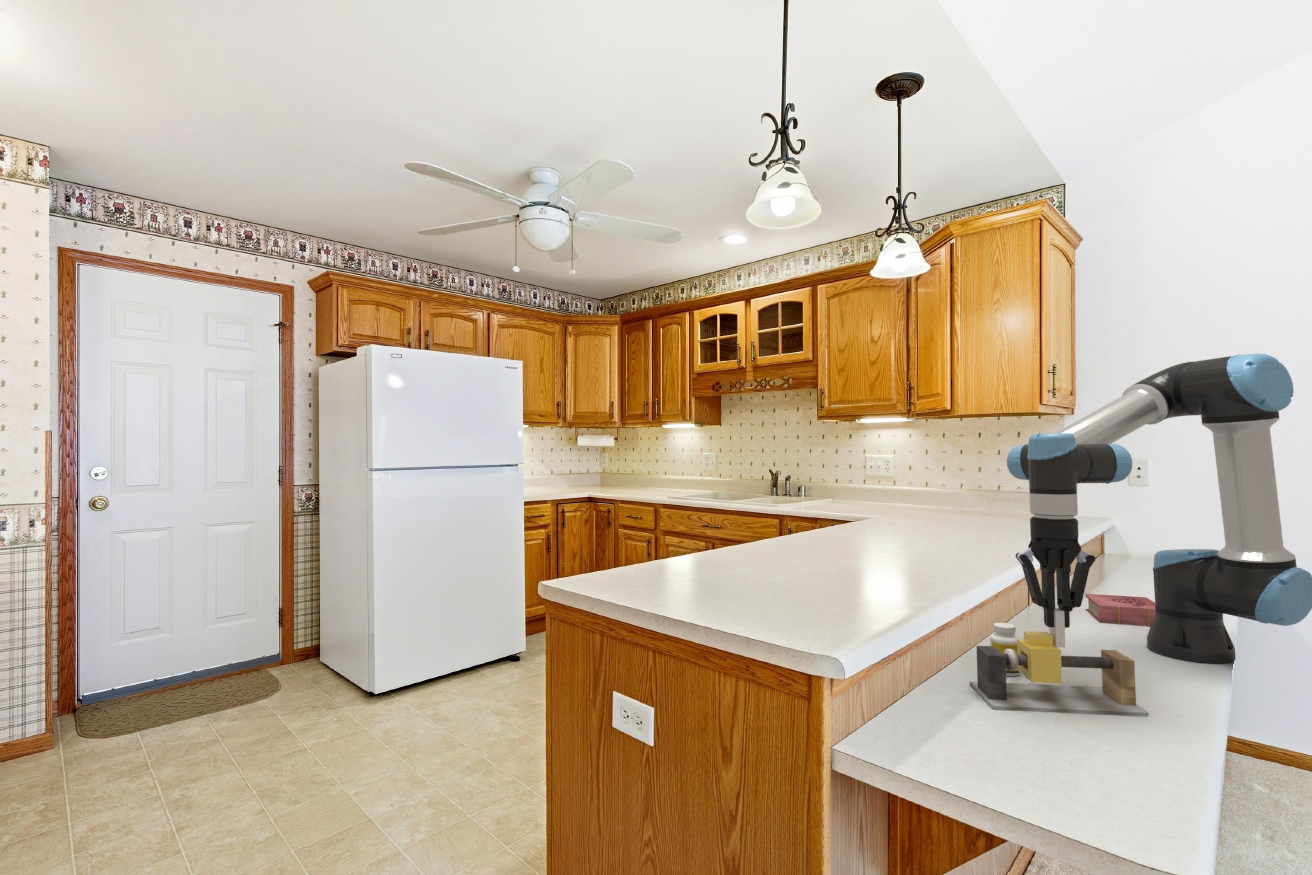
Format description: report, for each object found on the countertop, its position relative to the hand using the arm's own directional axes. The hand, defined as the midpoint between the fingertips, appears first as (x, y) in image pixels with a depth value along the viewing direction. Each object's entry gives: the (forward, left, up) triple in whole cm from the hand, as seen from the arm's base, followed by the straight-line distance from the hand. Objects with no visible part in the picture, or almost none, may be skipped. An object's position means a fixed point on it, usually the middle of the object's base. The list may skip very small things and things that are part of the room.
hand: (1057, 644), depth 115 cm
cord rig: (+1, 0, -10) cm, 10 cm away
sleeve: (+3, 0, -6) cm, 7 cm away
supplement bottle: (+4, -14, -10) cm, 18 cm away
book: (-44, -62, -11) cm, 76 cm away
